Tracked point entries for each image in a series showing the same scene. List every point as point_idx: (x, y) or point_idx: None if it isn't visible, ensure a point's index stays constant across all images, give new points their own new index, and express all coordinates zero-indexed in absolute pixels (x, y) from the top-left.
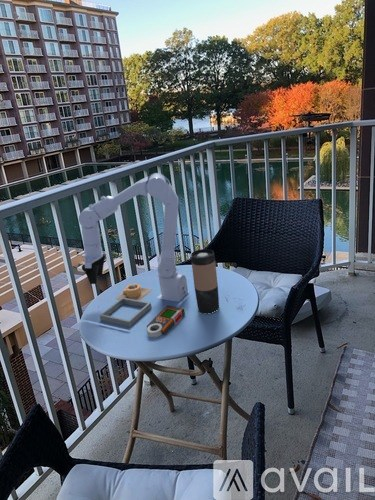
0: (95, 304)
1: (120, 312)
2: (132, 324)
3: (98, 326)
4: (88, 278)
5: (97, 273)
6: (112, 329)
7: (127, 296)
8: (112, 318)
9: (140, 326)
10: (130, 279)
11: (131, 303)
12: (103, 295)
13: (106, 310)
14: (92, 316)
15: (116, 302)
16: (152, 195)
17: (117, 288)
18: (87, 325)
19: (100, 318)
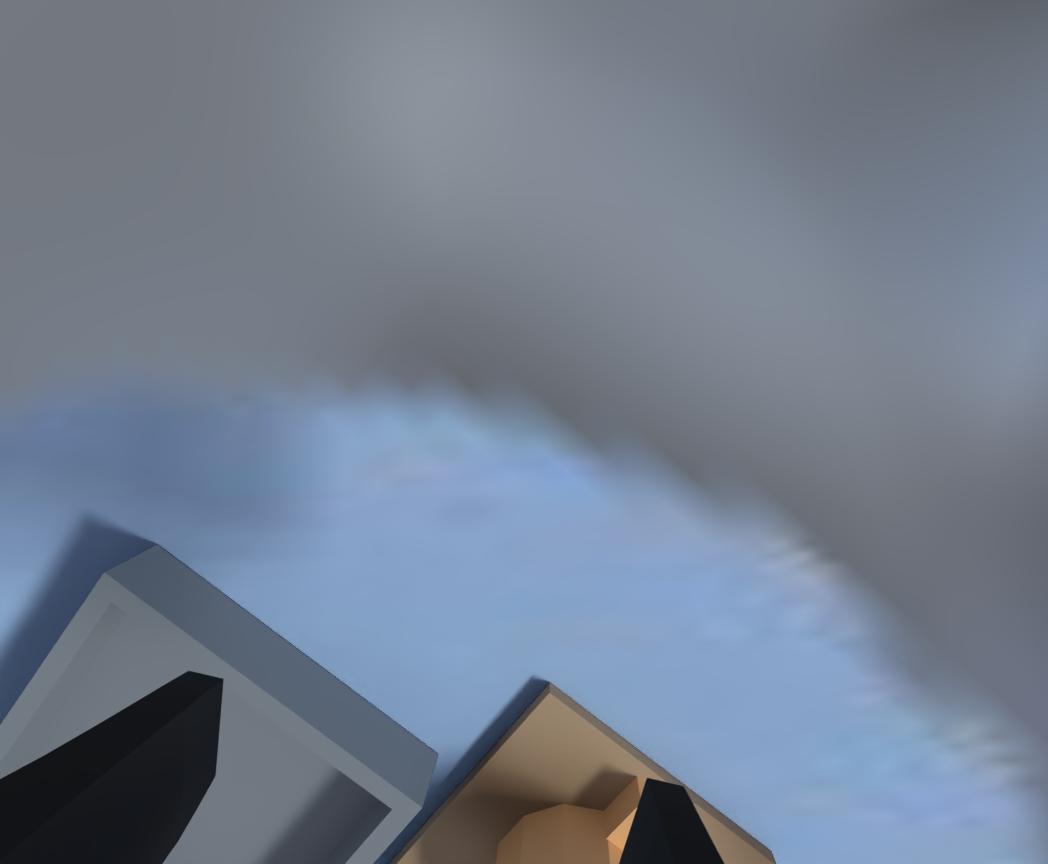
0: (534, 472)
1: None
2: None
3: (83, 521)
4: (51, 757)
5: (643, 819)
6: (9, 642)
7: (542, 811)
8: (23, 693)
9: None
10: (1008, 855)
11: (342, 848)
12: (723, 553)
13: (186, 640)
14: (282, 454)
15: (331, 743)
16: None
17: (833, 707)
18: (125, 416)
19: (129, 559)
